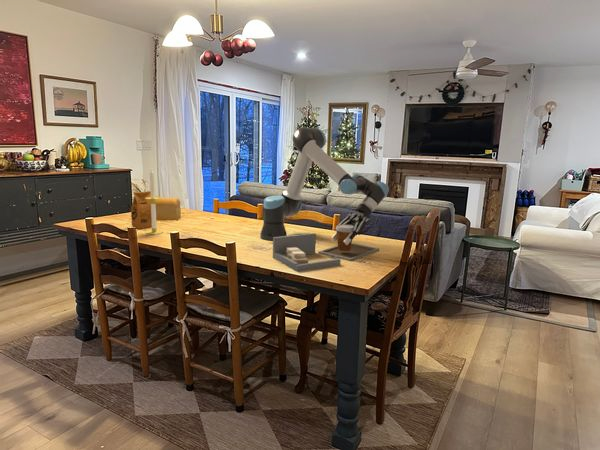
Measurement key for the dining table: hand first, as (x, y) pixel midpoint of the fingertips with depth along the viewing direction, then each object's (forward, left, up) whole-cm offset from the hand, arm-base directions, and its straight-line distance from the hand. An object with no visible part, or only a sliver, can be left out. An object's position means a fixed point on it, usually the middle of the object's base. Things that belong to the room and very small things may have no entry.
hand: (339, 241), depth 207 cm
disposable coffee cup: (0, +3, -5) cm, 6 cm away
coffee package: (-102, -75, -7) cm, 127 cm away
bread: (-124, -60, -7) cm, 138 cm away
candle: (-84, -72, -7) cm, 111 cm away
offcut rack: (+4, -21, -7) cm, 23 cm away
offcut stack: (+4, -27, -7) cm, 28 cm away
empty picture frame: (-1, +6, -8) cm, 10 cm away
